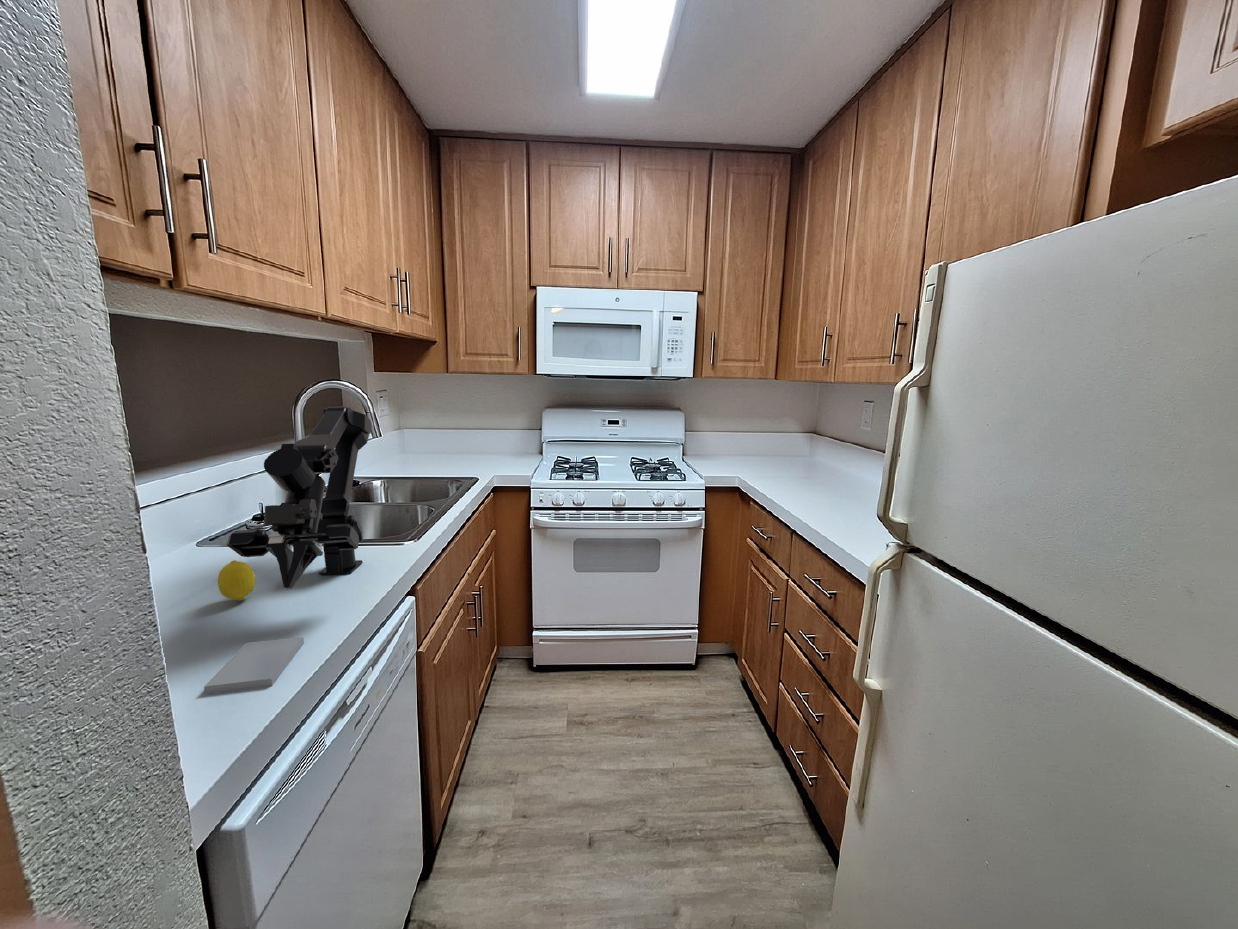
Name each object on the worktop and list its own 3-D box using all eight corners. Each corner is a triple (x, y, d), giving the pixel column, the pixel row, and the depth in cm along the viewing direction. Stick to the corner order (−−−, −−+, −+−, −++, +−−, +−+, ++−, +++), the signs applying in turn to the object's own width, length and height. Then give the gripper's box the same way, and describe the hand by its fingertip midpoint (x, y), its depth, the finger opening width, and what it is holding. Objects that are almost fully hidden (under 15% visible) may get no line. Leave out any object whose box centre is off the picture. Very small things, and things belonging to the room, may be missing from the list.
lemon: (253, 591, 97) (247, 553, 95) (262, 599, 94) (255, 559, 92) (217, 602, 93) (210, 561, 91) (225, 610, 89) (218, 569, 88)
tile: (246, 642, 77) (204, 686, 66) (303, 636, 78) (271, 678, 68) (247, 652, 77) (205, 697, 66) (304, 645, 79) (272, 688, 68)
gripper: (221, 485, 81) (195, 577, 74) (346, 479, 85) (333, 566, 78) (253, 514, 91) (232, 599, 83) (363, 508, 95) (354, 588, 87)
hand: (287, 588), depth 82 cm, fingers closed
